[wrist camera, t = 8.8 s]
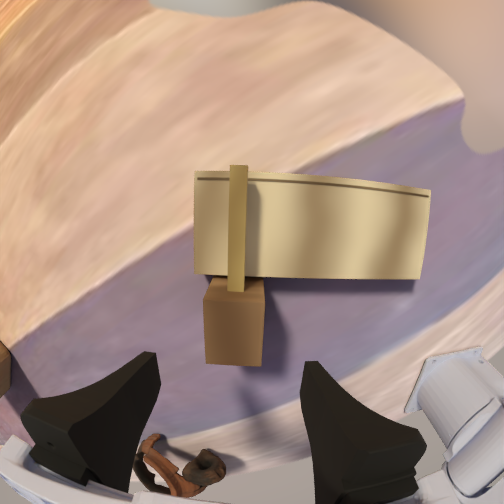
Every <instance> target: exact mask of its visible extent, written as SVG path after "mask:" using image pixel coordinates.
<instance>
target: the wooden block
mask: <svg viewBox="0 0 504 504" xmlns="http://www.w3.org/2000/svg"><path fill="white" fill-rule="evenodd" d="M10 372H11V355H10V353H9V351H8V350H7V349H6V348H5V346H4V345H3V344H2V343H1V342H0V398H1V397H2V396H3V395H4V394H5V393H6V392H7V391H8V390H9V389H10Z"/></svg>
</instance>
